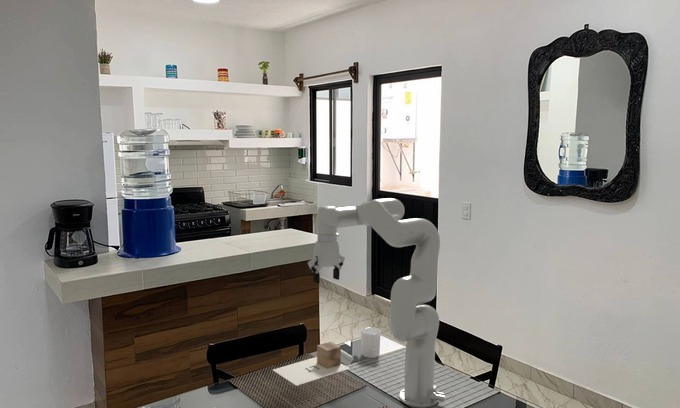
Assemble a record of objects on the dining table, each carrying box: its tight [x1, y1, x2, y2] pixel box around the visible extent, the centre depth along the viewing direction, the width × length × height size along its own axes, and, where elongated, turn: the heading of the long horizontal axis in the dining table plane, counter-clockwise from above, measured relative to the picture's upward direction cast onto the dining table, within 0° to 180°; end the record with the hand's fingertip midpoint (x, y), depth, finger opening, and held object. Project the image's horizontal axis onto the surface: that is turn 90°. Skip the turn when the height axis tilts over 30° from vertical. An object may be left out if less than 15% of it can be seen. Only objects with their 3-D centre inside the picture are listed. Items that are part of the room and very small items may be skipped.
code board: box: [272, 356, 350, 387], centre depth 194 cm, size 24×16×1 cm, turn 129°
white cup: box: [360, 326, 382, 359], centre depth 209 cm, size 8×8×10 cm
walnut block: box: [316, 341, 342, 369], centre depth 199 cm, size 6×6×7 cm
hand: (326, 280), depth 205 cm, fingers open, 9 cm apart
